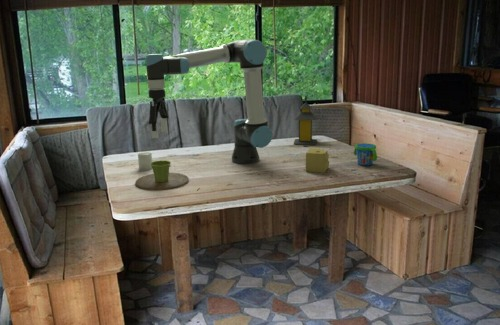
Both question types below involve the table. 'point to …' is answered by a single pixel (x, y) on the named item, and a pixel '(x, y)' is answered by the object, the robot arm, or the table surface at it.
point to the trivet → (172, 182)
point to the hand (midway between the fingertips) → (160, 134)
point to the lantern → (305, 125)
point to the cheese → (317, 160)
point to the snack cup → (365, 153)
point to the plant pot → (161, 170)
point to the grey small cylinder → (145, 161)
